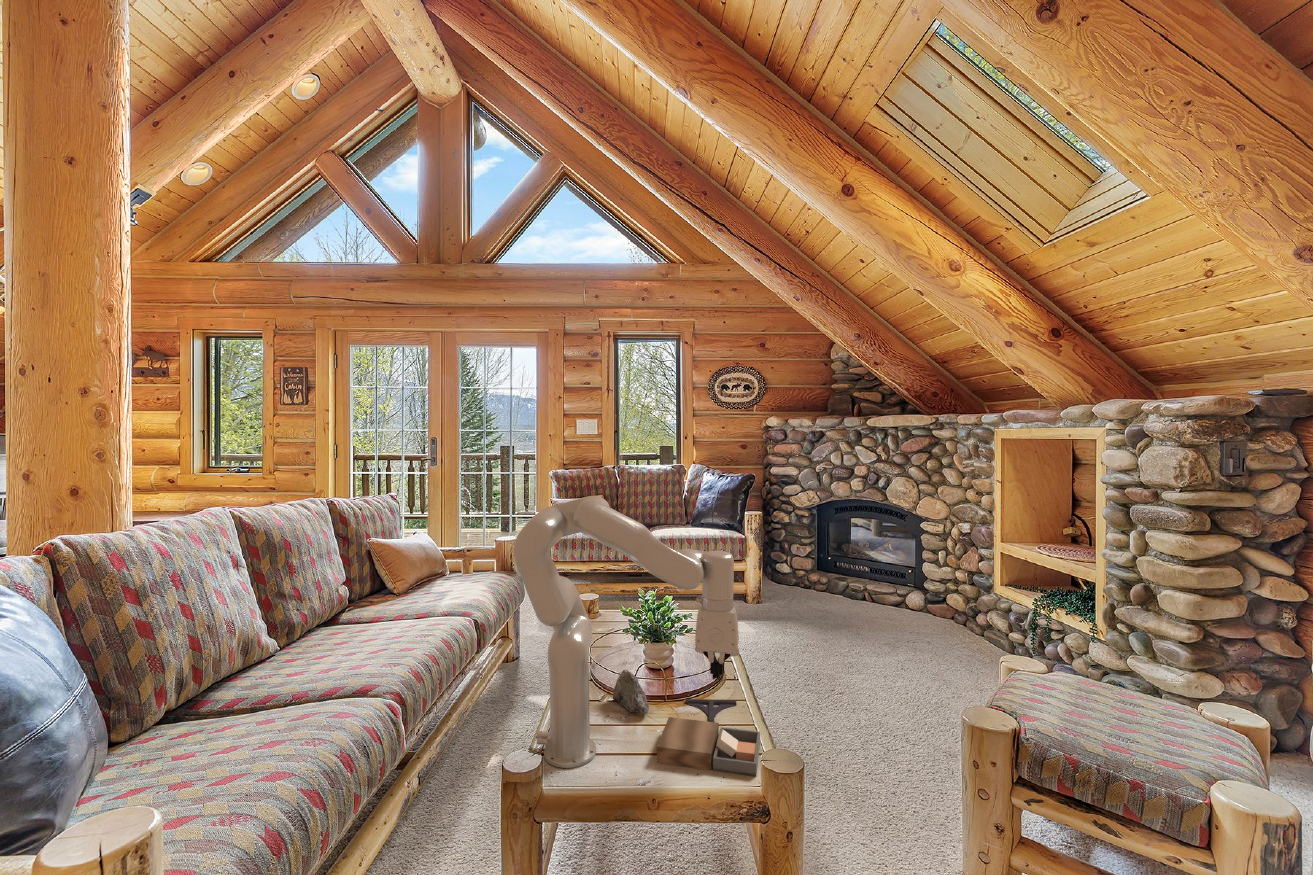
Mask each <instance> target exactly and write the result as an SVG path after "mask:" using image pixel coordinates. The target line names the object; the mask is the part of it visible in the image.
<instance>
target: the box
mask: <svg viewBox="0 0 1313 875" xmlns="http://www.w3.org/2000/svg"><path fill="white" fill-rule="evenodd" d="M719 727H720V729H719V734H720V733H721V731H722V730H724V731H726V732H727V733H729V734H730V735H731V736H733V737H734V738H735V739H737V740H738V741H739V742H747V743H755V744H756V750H755V758H754V762H750V761H743V760H736V752H735V754H734V755H733V756H732V757H731V756H730V755H728V754H727V753H726V752H724V751H723V750H722V749H720V748H719V747H718V746H716V748H715V752H714V756H713V764H712V772H713V771H714V772H720V773H721V772H722V773H727V774H728V773H729V774H735V775H744V776H750V777H757V772H758V766H759V757H760V756H759V755H760V748H761V746H760V745H761V731H759V730H750V729H740V728H732V727H724V726H719Z"/></svg>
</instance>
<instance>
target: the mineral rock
mask: <svg viewBox="0 0 1313 875" xmlns="http://www.w3.org/2000/svg"><path fill="white" fill-rule="evenodd" d="M612 693H613V695H612V700H614V701H615V702H618V703H619V705H621V706H623V707H624V708H625V709H627V710H628V711H630V712H637V713H642V714H644V715H646V714H647V715H648V713H649V709H650V705H649V703H648V700H647V695H646V692H645V691H644V690H643V688H642V686H641V685H640V683H639V680H638V678H637V676H636V675H634V674H633V673H632V672H631V671H629V669H623V670H622V671H621V673H620V674H619V676H618V677H617V680H616V682H615V686H614V688H613V692H612Z"/></svg>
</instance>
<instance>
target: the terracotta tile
mask: <svg viewBox="0 0 1313 875" xmlns="http://www.w3.org/2000/svg"><path fill="white" fill-rule="evenodd" d="M755 750H756V744H755V743H747V742H739V741H738V745H737V751H736V760H743V761H750V762H754V758H755Z"/></svg>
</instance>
